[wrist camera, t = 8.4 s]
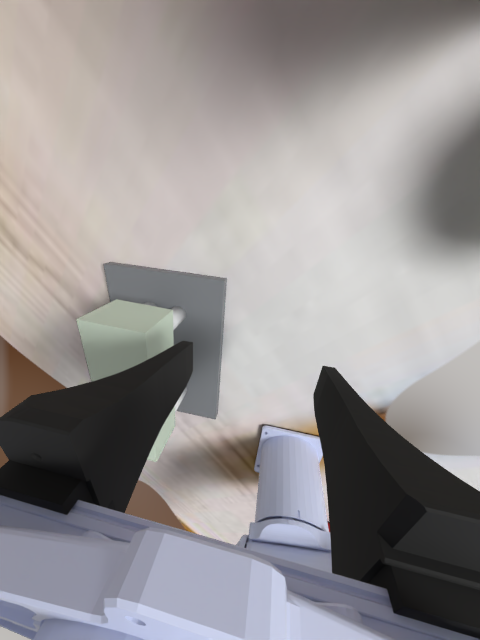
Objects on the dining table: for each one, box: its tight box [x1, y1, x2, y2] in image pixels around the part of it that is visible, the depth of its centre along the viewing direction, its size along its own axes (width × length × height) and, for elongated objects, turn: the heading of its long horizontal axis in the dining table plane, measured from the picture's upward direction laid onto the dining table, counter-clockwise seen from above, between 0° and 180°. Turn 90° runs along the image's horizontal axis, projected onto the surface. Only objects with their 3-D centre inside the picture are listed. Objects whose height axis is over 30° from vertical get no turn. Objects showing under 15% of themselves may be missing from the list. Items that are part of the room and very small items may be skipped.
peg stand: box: [104, 262, 227, 419], centre depth 23 cm, size 18×12×4 cm, turn 175°
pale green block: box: [76, 299, 175, 462], centre depth 19 cm, size 14×5×4 cm, turn 173°
